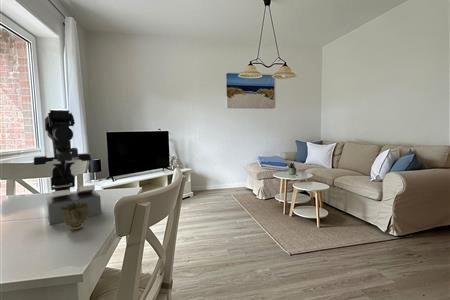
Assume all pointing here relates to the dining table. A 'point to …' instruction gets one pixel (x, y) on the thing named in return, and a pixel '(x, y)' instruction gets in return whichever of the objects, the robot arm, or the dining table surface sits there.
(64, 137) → the robot arm
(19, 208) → the dining table surface
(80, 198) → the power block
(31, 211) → the dining table surface
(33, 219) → the dining table surface
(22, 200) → the dining table surface
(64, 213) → the cup
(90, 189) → the block
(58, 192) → the block
